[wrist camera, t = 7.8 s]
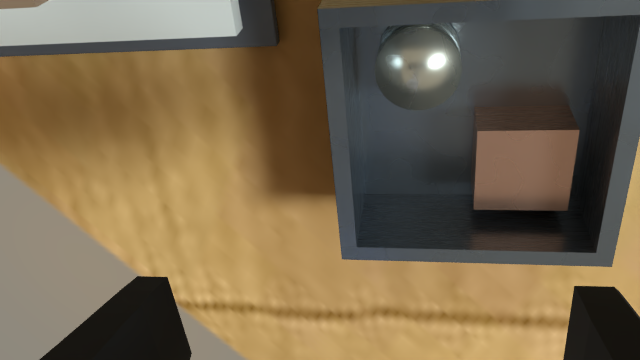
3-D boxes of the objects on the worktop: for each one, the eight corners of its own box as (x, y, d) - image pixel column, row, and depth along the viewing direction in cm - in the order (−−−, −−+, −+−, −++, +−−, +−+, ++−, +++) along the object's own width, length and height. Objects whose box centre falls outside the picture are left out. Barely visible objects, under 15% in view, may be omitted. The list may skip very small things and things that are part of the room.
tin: (586, 199, 20) (611, 266, 18) (353, 197, 22) (342, 259, 19) (627, -45, 16) (670, -9, 13) (336, -27, 18) (317, 8, 15)
